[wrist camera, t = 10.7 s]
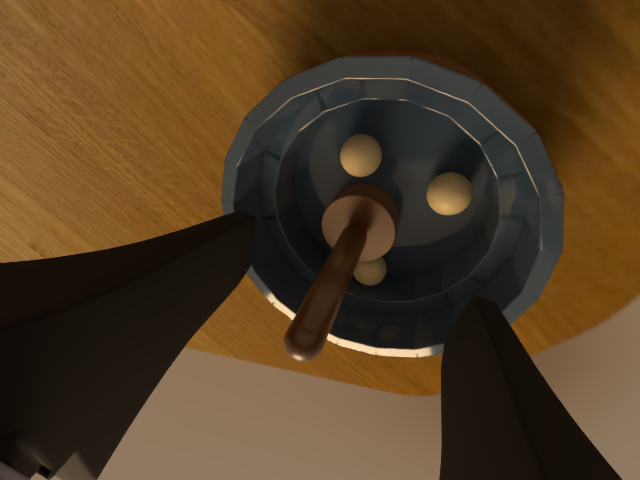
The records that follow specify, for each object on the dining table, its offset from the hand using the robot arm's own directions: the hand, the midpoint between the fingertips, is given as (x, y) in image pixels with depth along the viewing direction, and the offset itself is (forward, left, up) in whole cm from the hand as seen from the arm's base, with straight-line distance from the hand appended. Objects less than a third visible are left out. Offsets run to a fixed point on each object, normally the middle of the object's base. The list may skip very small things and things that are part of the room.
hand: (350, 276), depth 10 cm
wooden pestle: (-1, +1, -6) cm, 7 cm away
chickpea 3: (0, -3, -6) cm, 6 cm away
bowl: (0, 0, -7) cm, 7 cm away
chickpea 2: (-3, +1, -6) cm, 7 cm away
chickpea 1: (+2, 0, -6) cm, 6 cm away
